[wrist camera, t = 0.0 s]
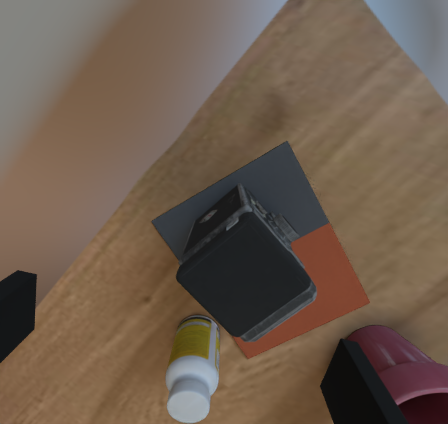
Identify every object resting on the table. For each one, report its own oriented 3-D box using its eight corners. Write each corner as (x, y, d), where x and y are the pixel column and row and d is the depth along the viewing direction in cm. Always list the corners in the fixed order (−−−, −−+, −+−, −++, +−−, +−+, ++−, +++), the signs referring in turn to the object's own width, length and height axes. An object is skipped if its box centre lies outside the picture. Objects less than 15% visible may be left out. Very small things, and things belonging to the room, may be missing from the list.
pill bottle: (170, 320, 39) (148, 393, 28) (211, 307, 39) (204, 377, 27) (187, 353, 41) (172, 435, 30) (226, 342, 40) (226, 421, 29)
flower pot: (316, 321, 39) (358, 406, 27) (414, 299, 38) (504, 378, 26) (332, 393, 43) (374, 496, 31) (421, 375, 42) (502, 476, 29)
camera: (239, 278, 37) (248, 370, 22) (187, 224, 35) (159, 287, 20) (299, 232, 35) (350, 300, 20) (248, 172, 33) (264, 201, 18)
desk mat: (287, 140, 32) (287, 140, 32) (369, 301, 38) (370, 302, 38) (151, 220, 35) (151, 221, 35) (248, 357, 41) (248, 359, 41)
